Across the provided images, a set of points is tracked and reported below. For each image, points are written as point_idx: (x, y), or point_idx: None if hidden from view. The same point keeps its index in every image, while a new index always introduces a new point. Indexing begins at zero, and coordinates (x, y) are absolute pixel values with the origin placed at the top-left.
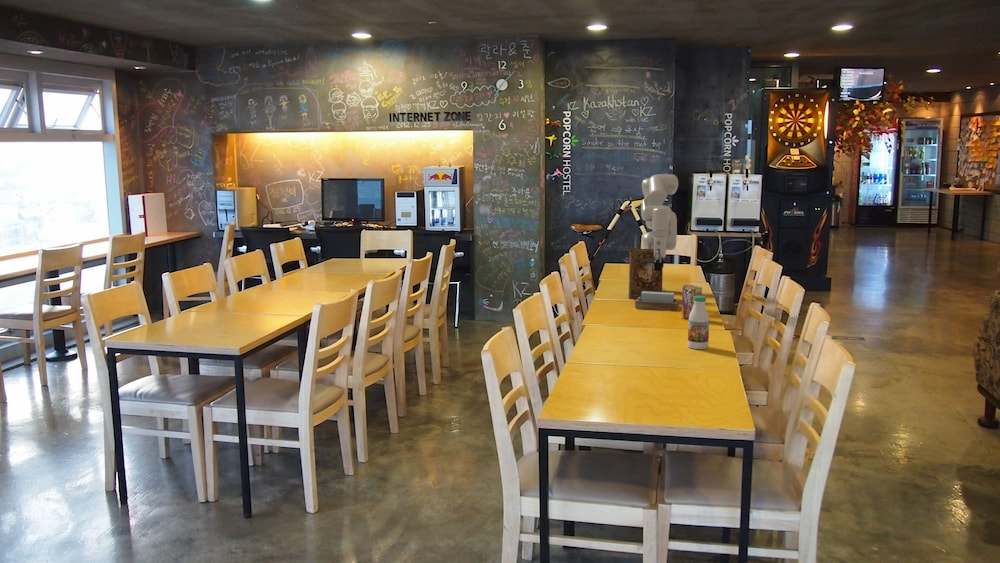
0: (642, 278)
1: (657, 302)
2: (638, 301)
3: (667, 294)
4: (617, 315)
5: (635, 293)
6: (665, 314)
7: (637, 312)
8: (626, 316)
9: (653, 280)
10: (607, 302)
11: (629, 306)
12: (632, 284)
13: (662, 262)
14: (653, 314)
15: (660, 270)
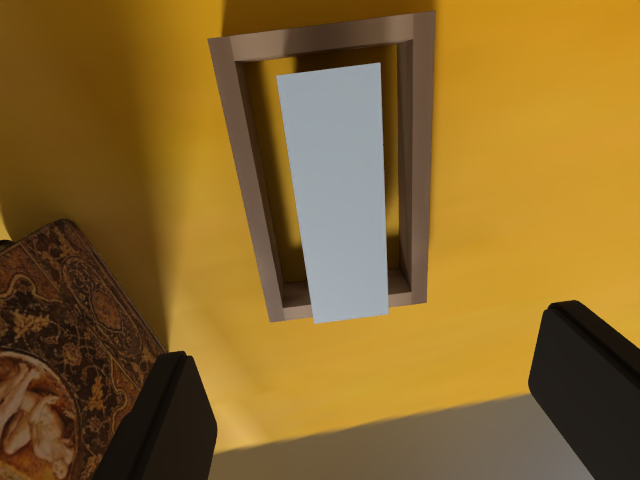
0: (64, 424)
1: (425, 174)
2: (424, 287)
3: (381, 120)
4: (595, 305)
5: (144, 364)
6: (545, 75)
7: (510, 244)
8: (617, 265)
9: (11, 347)
10: (306, 411)
11: None
12: None
13: (157, 461)
14: (554, 150)
15: (574, 309)
